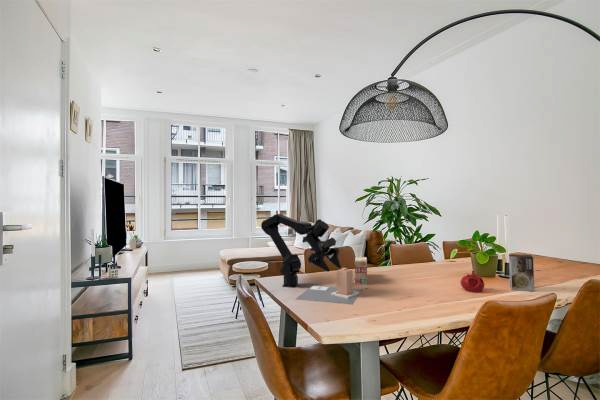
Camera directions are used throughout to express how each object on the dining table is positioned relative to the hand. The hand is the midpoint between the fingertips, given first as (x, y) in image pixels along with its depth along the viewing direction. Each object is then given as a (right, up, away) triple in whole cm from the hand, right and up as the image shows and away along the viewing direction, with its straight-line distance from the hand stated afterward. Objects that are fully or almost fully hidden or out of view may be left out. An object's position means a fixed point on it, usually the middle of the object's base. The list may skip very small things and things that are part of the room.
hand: (334, 269), depth 153 cm
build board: (-2, -12, -2) cm, 12 cm away
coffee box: (+89, -11, +5) cm, 90 cm away
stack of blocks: (+18, -12, +29) cm, 36 cm away
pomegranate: (+65, -11, +4) cm, 66 cm away
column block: (+4, -10, -4) cm, 12 cm away
